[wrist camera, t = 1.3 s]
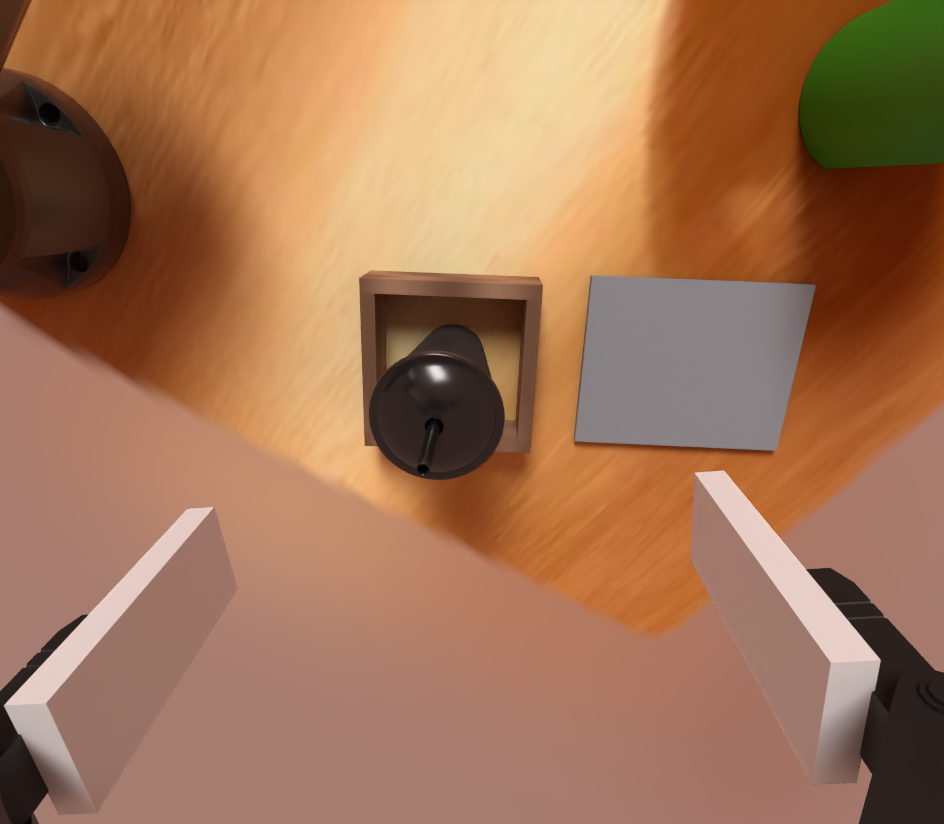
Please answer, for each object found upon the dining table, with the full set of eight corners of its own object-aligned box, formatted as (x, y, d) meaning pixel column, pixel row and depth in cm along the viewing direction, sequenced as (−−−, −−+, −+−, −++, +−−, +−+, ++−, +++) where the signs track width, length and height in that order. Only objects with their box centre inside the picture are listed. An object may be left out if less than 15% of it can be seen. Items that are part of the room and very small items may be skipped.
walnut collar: (374, 425, 48) (364, 445, 44) (370, 270, 43) (359, 278, 40) (527, 432, 48) (529, 453, 44) (538, 277, 43) (542, 285, 39)
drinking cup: (383, 355, 46) (306, 469, 27) (450, 284, 44) (417, 354, 25) (454, 420, 47) (428, 569, 29) (522, 354, 45) (541, 470, 27)
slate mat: (573, 438, 48) (574, 441, 47) (590, 275, 43) (592, 276, 42) (773, 447, 47) (776, 450, 47) (811, 284, 43) (816, 285, 42)
